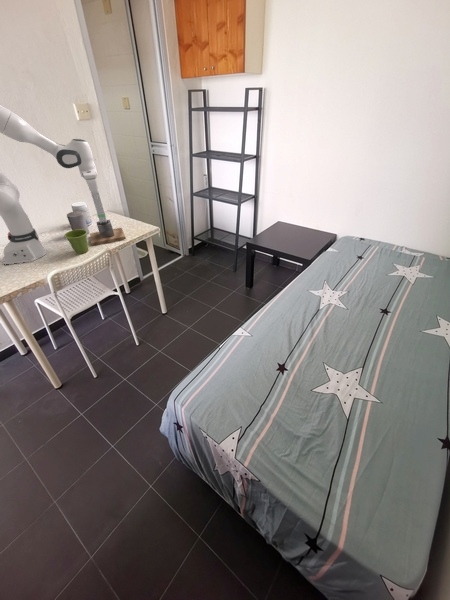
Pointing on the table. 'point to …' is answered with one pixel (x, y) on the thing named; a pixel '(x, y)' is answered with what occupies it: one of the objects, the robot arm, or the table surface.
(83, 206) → the supplement tub
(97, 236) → the stand
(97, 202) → the column
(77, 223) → the pillar candle
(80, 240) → the plant pot
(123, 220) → the table surface
